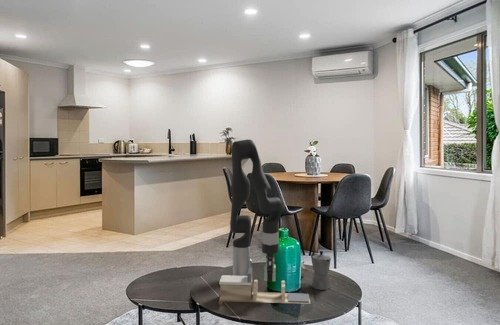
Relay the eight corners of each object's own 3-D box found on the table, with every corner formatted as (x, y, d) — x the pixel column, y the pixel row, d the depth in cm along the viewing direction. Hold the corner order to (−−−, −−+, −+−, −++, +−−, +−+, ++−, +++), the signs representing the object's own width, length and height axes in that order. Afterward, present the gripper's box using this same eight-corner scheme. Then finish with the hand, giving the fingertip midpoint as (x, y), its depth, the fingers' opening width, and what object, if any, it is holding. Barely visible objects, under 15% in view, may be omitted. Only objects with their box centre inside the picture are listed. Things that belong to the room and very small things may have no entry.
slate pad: (287, 294, 183) (287, 293, 182) (307, 294, 182) (307, 293, 182) (288, 301, 174) (288, 300, 174) (309, 302, 173) (309, 301, 173)
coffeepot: (336, 290, 192) (337, 253, 192) (320, 292, 189) (320, 255, 188) (319, 280, 207) (319, 246, 206) (303, 282, 203) (303, 247, 202)
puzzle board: (222, 294, 186) (222, 277, 186) (308, 296, 183) (308, 279, 183) (218, 304, 174) (218, 286, 174) (310, 307, 171) (310, 289, 171)
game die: (301, 282, 214) (312, 267, 215) (298, 281, 206) (309, 265, 207) (288, 271, 218) (299, 257, 219) (284, 270, 210) (295, 255, 211)
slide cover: (222, 277, 184) (222, 266, 184) (252, 278, 183) (252, 267, 183) (219, 284, 175) (219, 272, 175) (250, 285, 174) (251, 273, 174)
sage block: (264, 277, 181) (264, 264, 181) (275, 277, 181) (275, 264, 181) (264, 281, 176) (264, 267, 176) (275, 281, 176) (275, 268, 176)
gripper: (262, 237, 185) (262, 273, 186) (261, 245, 171) (261, 284, 172) (278, 238, 185) (278, 274, 186) (278, 246, 170) (278, 285, 171)
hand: (269, 279), depth 179 cm, fingers closed on sage block, 5 cm apart
